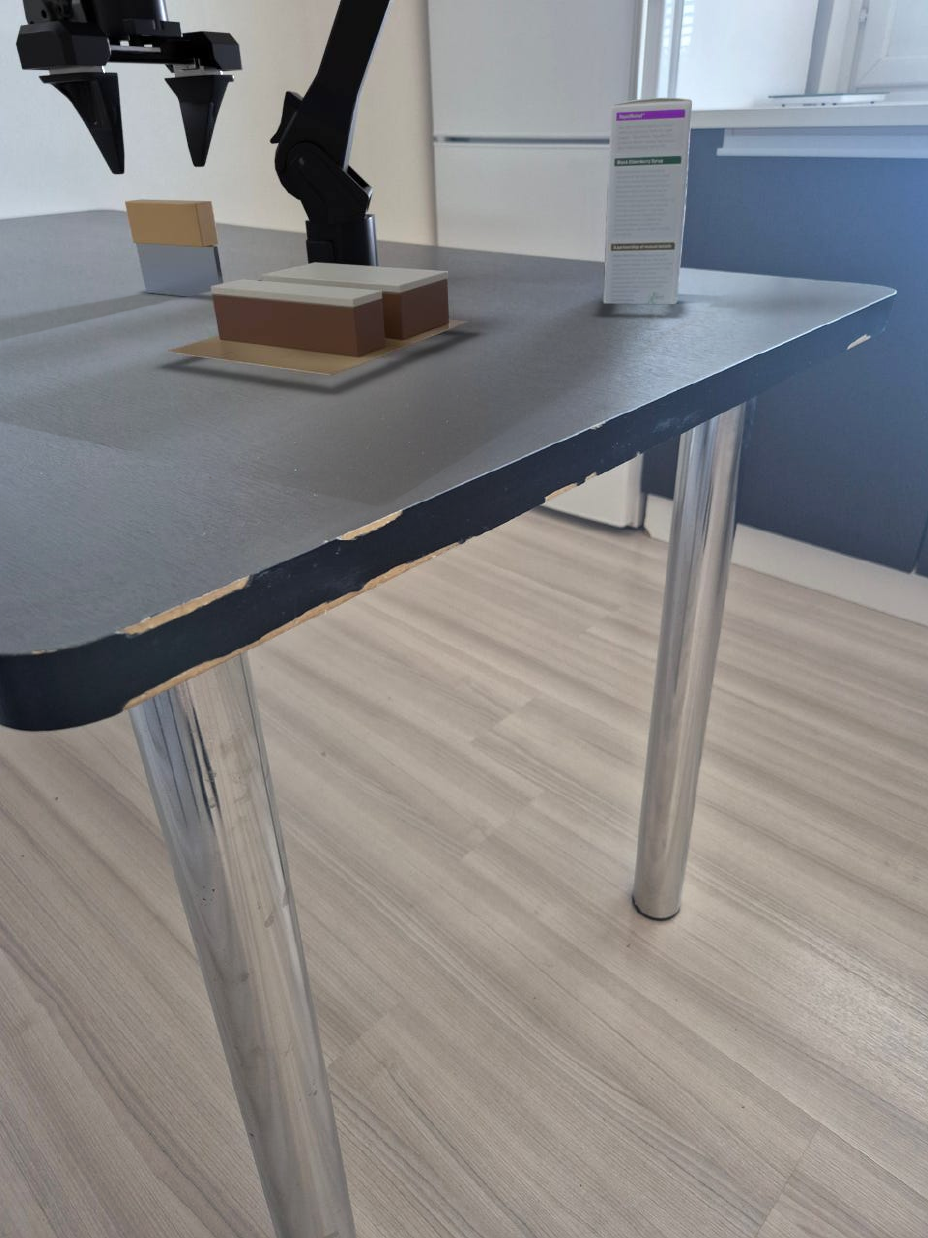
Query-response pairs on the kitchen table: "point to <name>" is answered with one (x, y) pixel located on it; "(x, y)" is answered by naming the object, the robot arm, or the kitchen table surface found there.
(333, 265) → the cake
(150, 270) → the scraper
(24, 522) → the kitchen table surface
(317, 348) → the cake slice
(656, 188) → the syrup box
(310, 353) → the cake board
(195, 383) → the kitchen table surface
